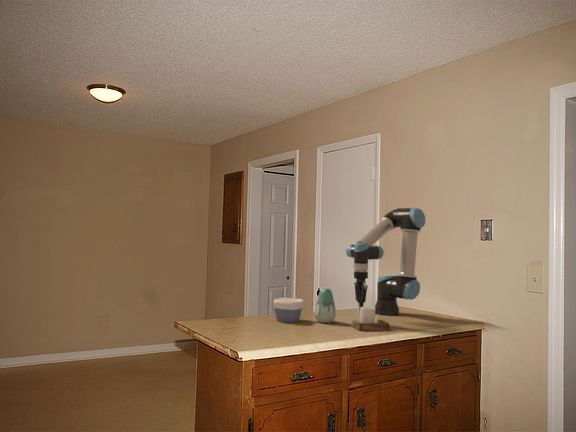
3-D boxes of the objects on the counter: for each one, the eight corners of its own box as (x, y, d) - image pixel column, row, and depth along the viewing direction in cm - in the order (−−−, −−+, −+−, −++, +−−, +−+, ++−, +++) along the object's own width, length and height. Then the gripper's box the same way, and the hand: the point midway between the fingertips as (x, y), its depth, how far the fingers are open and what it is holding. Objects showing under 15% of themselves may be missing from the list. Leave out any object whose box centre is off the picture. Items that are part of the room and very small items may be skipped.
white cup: (366, 329, 247) (367, 309, 247) (356, 326, 253) (357, 307, 254) (378, 327, 251) (378, 308, 251) (367, 325, 258) (368, 306, 258)
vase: (311, 322, 259) (312, 289, 260) (317, 319, 270) (318, 286, 270) (332, 324, 255) (333, 290, 255) (338, 321, 266) (339, 288, 266)
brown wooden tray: (352, 326, 251) (352, 320, 251) (380, 326, 255) (380, 319, 255) (359, 330, 242) (359, 323, 242) (389, 330, 246) (389, 323, 246)
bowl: (269, 321, 259) (270, 300, 260) (280, 316, 273) (281, 297, 274) (296, 324, 253) (296, 302, 254) (306, 319, 268) (306, 299, 268)
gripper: (349, 270, 269) (349, 312, 268) (359, 272, 256) (358, 317, 256) (362, 269, 271) (362, 312, 270) (372, 272, 258) (371, 316, 258)
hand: (360, 314), depth 263 cm, fingers closed
